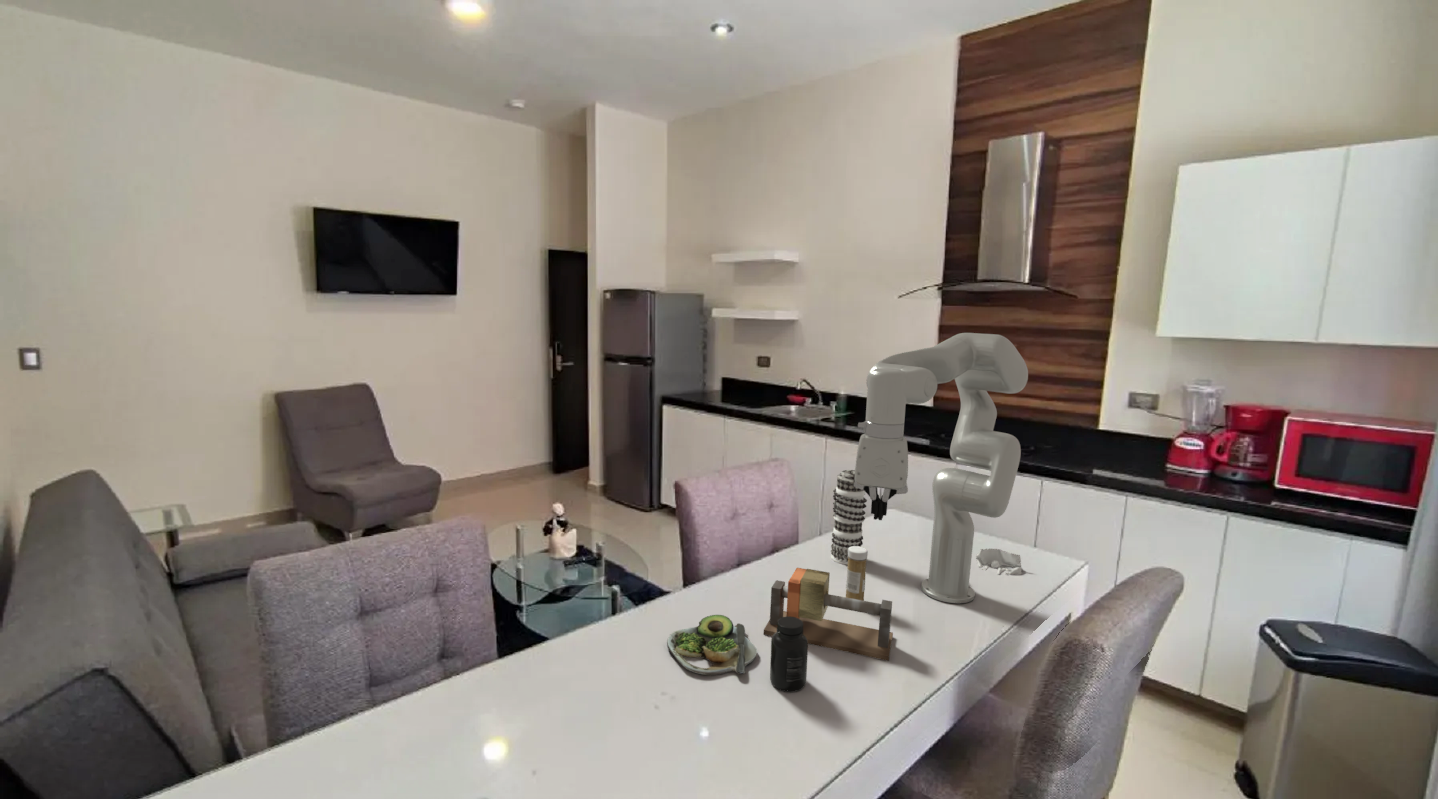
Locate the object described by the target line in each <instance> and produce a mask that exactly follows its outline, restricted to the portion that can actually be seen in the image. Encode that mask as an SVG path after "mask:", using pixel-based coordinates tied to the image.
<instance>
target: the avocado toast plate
mask: <svg viewBox="0 0 1438 799" xmlns="http://www.w3.org/2000/svg"><path fill="white" fill-rule="evenodd" d="M745 633H746V629H745V625H744V624H742V623H736V624H735V625H734V624H733V621H732V620H731V619H730V618H729V617H728V616H726V615H724V614H711V615H708V616H705V617H703V618H702V619H701V620H700V621H699V622H698V626H693V627H688V628H682V629H678V630H675V631H673V632H671V633H670V634H669V636H668V638H667V640H666V646H667V649H668V652H669V653H670V654H671V655H672V656H674V658H675V659H676V661H677V662H678V663H679V664H680V665H682V667H684V668H685V669H686V670H688V671H689V672H692V673H694V674H699V675H702V676H718V675H723V674H726V673H731V672H736V673H737V674H739V675H740V674H741V675H742V674H743V675H744V674H746V667H747V665H749V664H750V663H752V662H753V661H754V660H755V658H756V656H757V655H758V650H757V647H756V646H755V645H754V643H753V642H751V640H749V638H747V636H746V635H745ZM684 657H686V658H703V659H705V660H707V661H709V662H708V663H710V664H713V665H711V666H709V667H706V668H705V667H699V666H696V665H693V664H692V663H690V662H689V661H687V660H686V658H684Z"/></svg>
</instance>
